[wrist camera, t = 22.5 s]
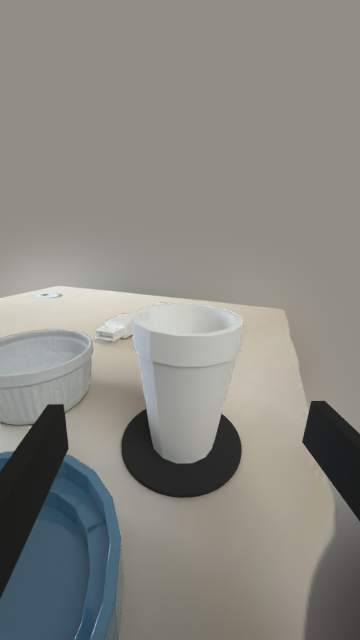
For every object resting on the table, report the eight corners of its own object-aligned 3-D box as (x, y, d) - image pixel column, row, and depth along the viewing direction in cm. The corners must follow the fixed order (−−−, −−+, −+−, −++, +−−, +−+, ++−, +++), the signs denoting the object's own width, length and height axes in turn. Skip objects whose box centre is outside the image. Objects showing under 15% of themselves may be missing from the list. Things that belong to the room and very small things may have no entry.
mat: (100, 435, 26) (99, 432, 25) (183, 391, 33) (183, 389, 33) (178, 532, 17) (178, 528, 17) (264, 444, 25) (264, 441, 25)
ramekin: (-57, 428, 26) (-76, 370, 24) (28, 367, 38) (21, 325, 36) (63, 441, 25) (54, 381, 23) (111, 374, 37) (108, 331, 35)
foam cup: (237, 422, 28) (251, 310, 24) (216, 497, 19) (231, 345, 15) (161, 399, 31) (162, 299, 27) (116, 455, 23) (108, 323, 19)
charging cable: (173, 310, 76) (173, 299, 75) (115, 346, 46) (115, 329, 45) (158, 308, 77) (158, 297, 76) (92, 342, 47) (92, 325, 46)
